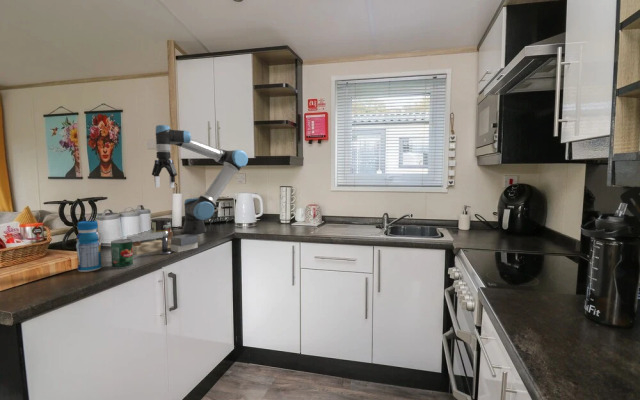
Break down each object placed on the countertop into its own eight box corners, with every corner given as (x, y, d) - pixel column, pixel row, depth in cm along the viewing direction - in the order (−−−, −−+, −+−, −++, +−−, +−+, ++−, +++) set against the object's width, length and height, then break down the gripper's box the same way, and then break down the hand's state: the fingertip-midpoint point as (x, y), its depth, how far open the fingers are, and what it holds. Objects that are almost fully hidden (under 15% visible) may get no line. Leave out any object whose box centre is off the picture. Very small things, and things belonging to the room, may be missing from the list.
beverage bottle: (87, 273, 129) (85, 223, 128) (72, 271, 132) (69, 222, 130) (107, 267, 137) (104, 220, 136) (91, 265, 140) (89, 220, 138)
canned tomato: (130, 267, 138) (129, 242, 137) (109, 269, 135) (107, 243, 134) (135, 262, 145) (134, 238, 144) (115, 264, 143) (114, 239, 142)
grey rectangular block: (187, 241, 177) (187, 233, 177) (197, 242, 173) (197, 235, 173) (171, 244, 169) (170, 236, 168) (181, 246, 165) (180, 238, 164)
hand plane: (169, 245, 181) (168, 231, 180) (176, 246, 178) (175, 232, 177) (129, 253, 162) (129, 237, 161) (136, 254, 159) (136, 238, 158)
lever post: (166, 251, 166) (166, 235, 165) (174, 252, 163) (173, 236, 163) (155, 253, 161) (155, 237, 160) (163, 255, 158) (162, 238, 157)
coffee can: (175, 241, 190) (175, 218, 188) (163, 245, 179) (163, 220, 178) (160, 241, 192) (159, 217, 190) (147, 244, 182) (146, 219, 180)
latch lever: (166, 235, 164) (165, 230, 163) (169, 236, 162) (169, 231, 161) (126, 241, 149) (126, 236, 149) (129, 242, 147) (129, 237, 147)
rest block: (190, 246, 178) (190, 241, 178) (197, 247, 175) (197, 242, 175) (170, 250, 168) (170, 245, 167) (178, 252, 165) (178, 246, 164)
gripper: (144, 151, 195) (145, 187, 196) (171, 150, 183) (172, 188, 184) (155, 152, 201) (157, 186, 203) (182, 151, 189) (184, 187, 191)
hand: (164, 187), depth 194 cm, fingers open, 13 cm apart
